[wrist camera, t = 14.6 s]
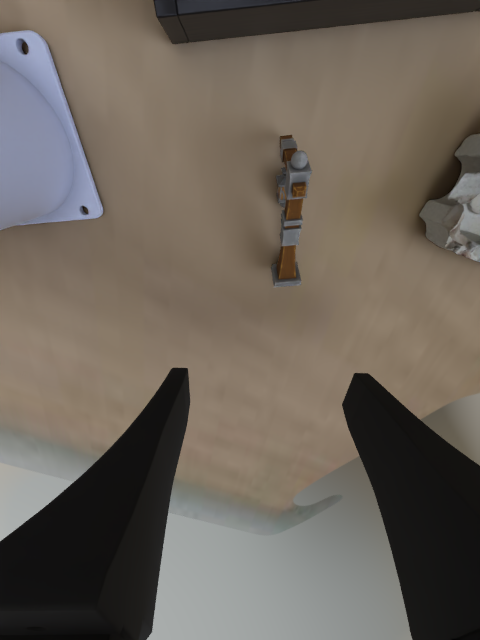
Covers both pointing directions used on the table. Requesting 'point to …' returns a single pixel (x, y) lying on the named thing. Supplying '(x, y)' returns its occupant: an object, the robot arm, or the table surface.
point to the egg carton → (459, 207)
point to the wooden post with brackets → (290, 210)
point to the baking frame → (287, 15)
